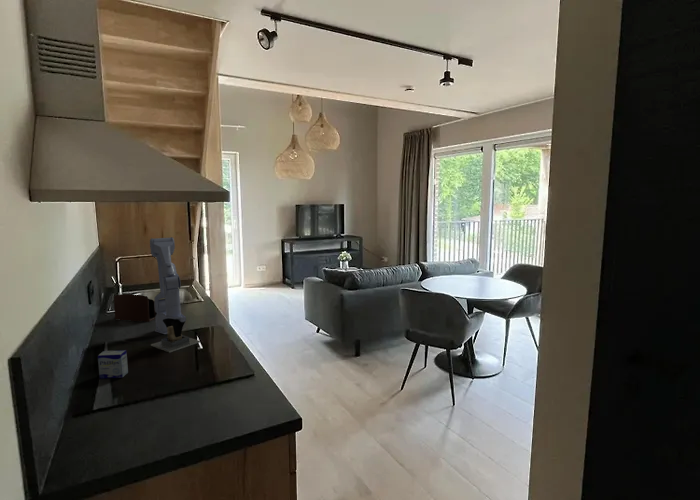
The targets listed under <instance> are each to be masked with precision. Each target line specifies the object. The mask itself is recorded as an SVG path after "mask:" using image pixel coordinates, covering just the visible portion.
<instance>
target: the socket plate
mask: <svg viewBox="0 0 700 500" xmlns="http://www.w3.org/2000/svg"><path fill="white" fill-rule="evenodd" d="M199 343H201V341H200V340H199V339H196V338H192V337H190V336H187V335H183V334H182V339H179V340H176V341H170V340H168V336H167V337H164V338H161V340H160V341H157V342H154V343H151V344H150V347H153V348H156V349H158V350H162V351H164V352H166V353H172V352H176V351H179V350H181V349H184V348H187V347H190V346H193V345H197V344H199Z"/></svg>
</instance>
